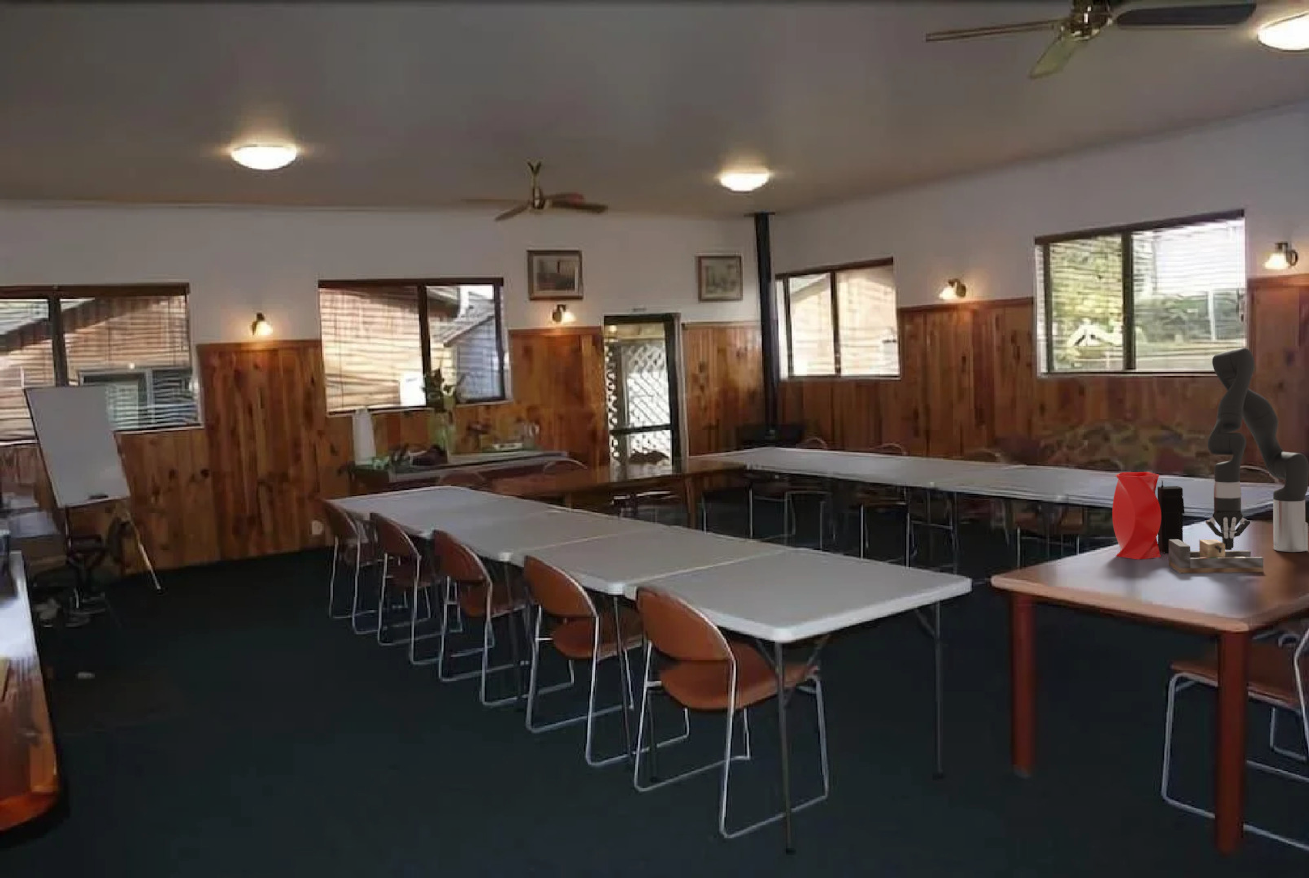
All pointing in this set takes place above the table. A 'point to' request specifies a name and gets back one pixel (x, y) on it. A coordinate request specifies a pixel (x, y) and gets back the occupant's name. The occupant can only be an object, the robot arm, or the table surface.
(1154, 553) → the vase
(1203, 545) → the block
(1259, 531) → the table surface
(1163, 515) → the portable radio
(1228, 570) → the grey piece
